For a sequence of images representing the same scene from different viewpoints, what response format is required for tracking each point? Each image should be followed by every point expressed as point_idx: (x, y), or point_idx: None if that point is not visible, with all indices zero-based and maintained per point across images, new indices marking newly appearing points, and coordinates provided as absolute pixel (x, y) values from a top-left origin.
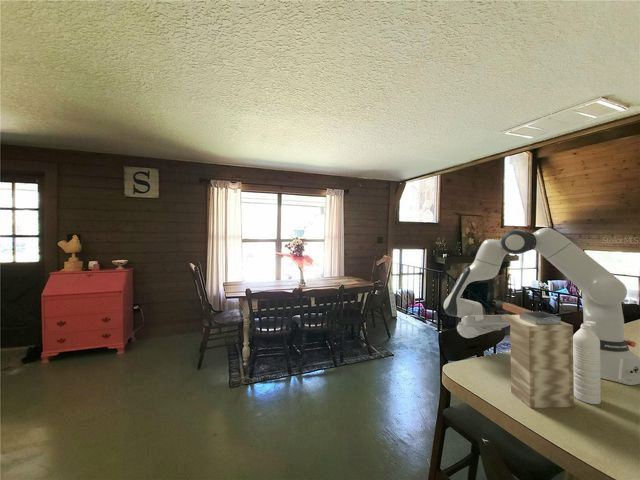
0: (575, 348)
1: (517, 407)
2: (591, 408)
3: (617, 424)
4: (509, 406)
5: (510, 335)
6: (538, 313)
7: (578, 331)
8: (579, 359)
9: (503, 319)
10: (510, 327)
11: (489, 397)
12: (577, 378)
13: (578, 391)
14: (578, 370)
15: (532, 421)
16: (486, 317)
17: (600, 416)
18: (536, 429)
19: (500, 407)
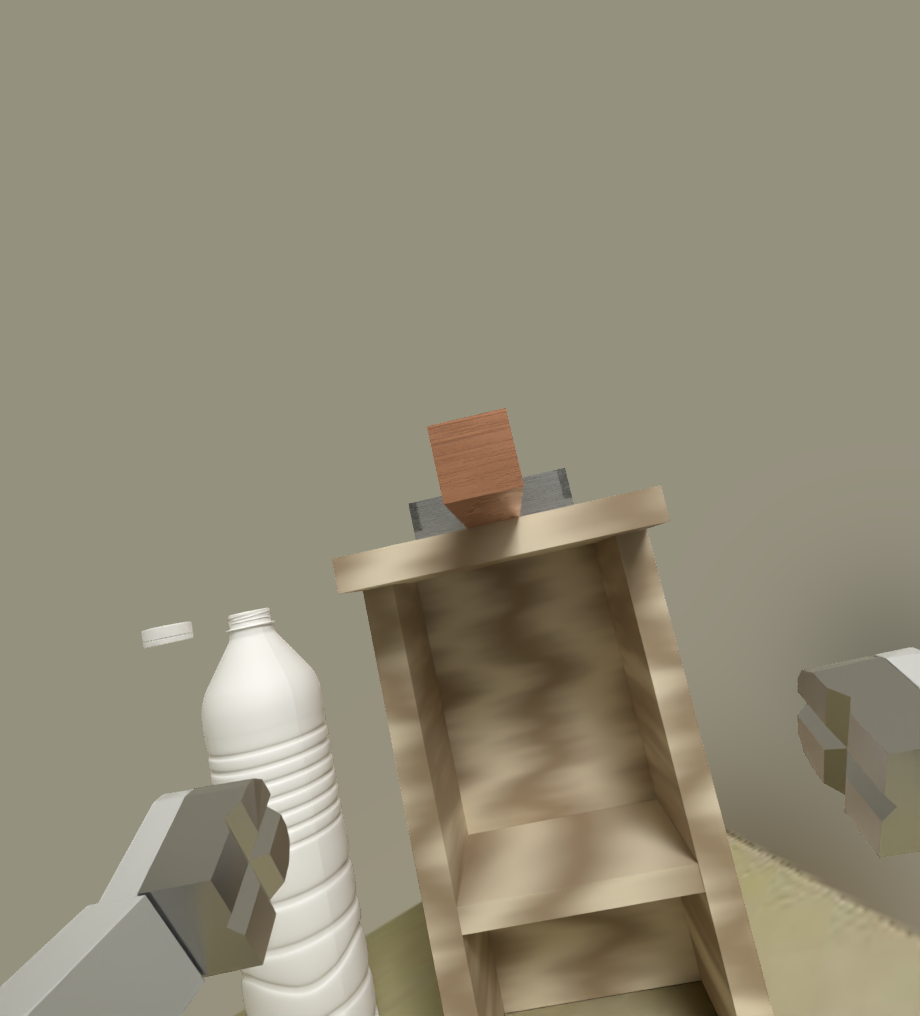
0: (323, 746)
1: (790, 954)
2: (405, 1004)
3: (421, 929)
4: (835, 954)
5: (670, 621)
6: (445, 506)
7: (281, 650)
8: (338, 797)
9: (665, 520)
10: (654, 562)
11: None
12: (359, 929)
13: (374, 1011)
14: (351, 870)
15: (748, 888)
16: (800, 719)
17: (431, 959)
18: (749, 859)
19: (890, 940)
